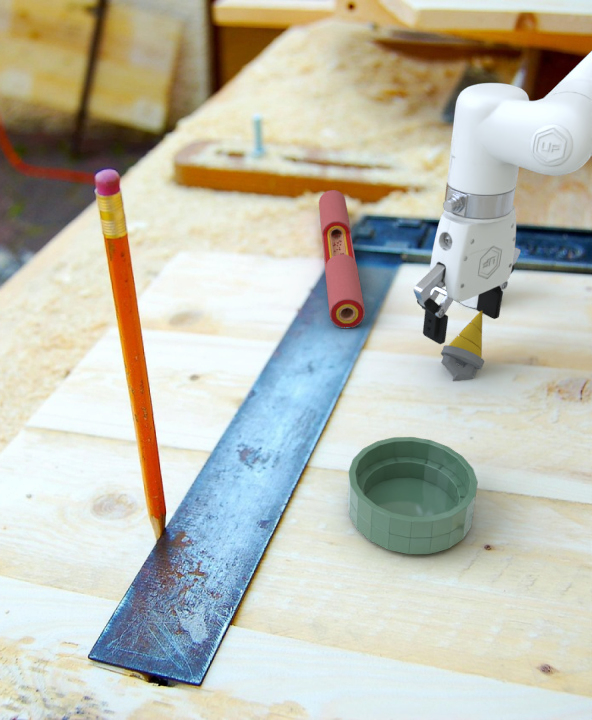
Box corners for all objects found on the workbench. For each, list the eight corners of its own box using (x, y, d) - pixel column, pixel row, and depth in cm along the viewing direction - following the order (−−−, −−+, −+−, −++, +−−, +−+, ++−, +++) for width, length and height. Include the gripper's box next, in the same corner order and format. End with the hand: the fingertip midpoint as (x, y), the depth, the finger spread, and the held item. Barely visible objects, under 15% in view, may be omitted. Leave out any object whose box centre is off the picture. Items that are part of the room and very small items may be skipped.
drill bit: (427, 373, 100) (455, 304, 101) (463, 390, 100) (492, 321, 101) (440, 371, 95) (471, 298, 96) (479, 388, 95) (509, 316, 96)
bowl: (409, 457, 86) (412, 422, 83) (498, 520, 77) (504, 483, 74) (323, 504, 81) (323, 469, 78) (408, 578, 72) (411, 541, 69)
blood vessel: (364, 328, 110) (365, 298, 107) (329, 329, 110) (329, 299, 108) (345, 214, 145) (345, 189, 142) (318, 215, 145) (318, 190, 142)
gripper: (450, 229, 81) (434, 363, 91) (555, 189, 89) (530, 316, 98) (400, 208, 86) (389, 336, 96) (503, 172, 94) (484, 294, 103)
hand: (461, 326), depth 97 cm, fingers open, 9 cm apart
